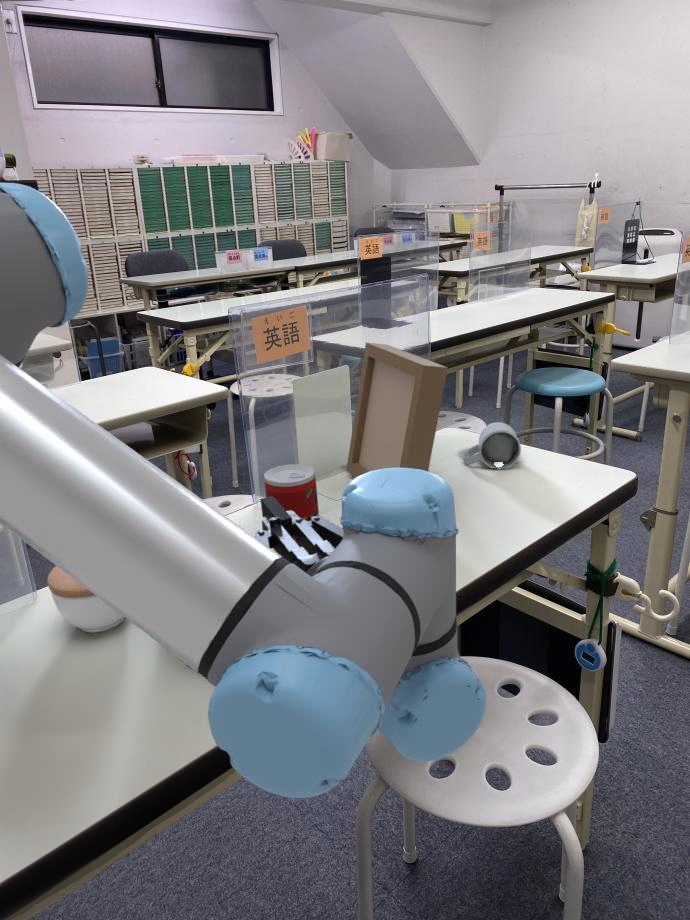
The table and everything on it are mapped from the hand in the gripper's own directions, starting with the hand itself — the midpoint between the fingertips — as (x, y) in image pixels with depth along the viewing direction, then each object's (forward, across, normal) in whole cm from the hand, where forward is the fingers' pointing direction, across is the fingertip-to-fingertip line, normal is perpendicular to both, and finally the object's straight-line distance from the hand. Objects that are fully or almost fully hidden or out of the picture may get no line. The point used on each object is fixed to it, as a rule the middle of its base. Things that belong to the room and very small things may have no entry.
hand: (267, 508), depth 79 cm
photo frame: (+32, +35, -18) cm, 50 cm away
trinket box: (+15, -20, -18) cm, 31 cm away
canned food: (+24, +10, -18) cm, 31 cm away
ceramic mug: (+33, +54, -18) cm, 65 cm away
